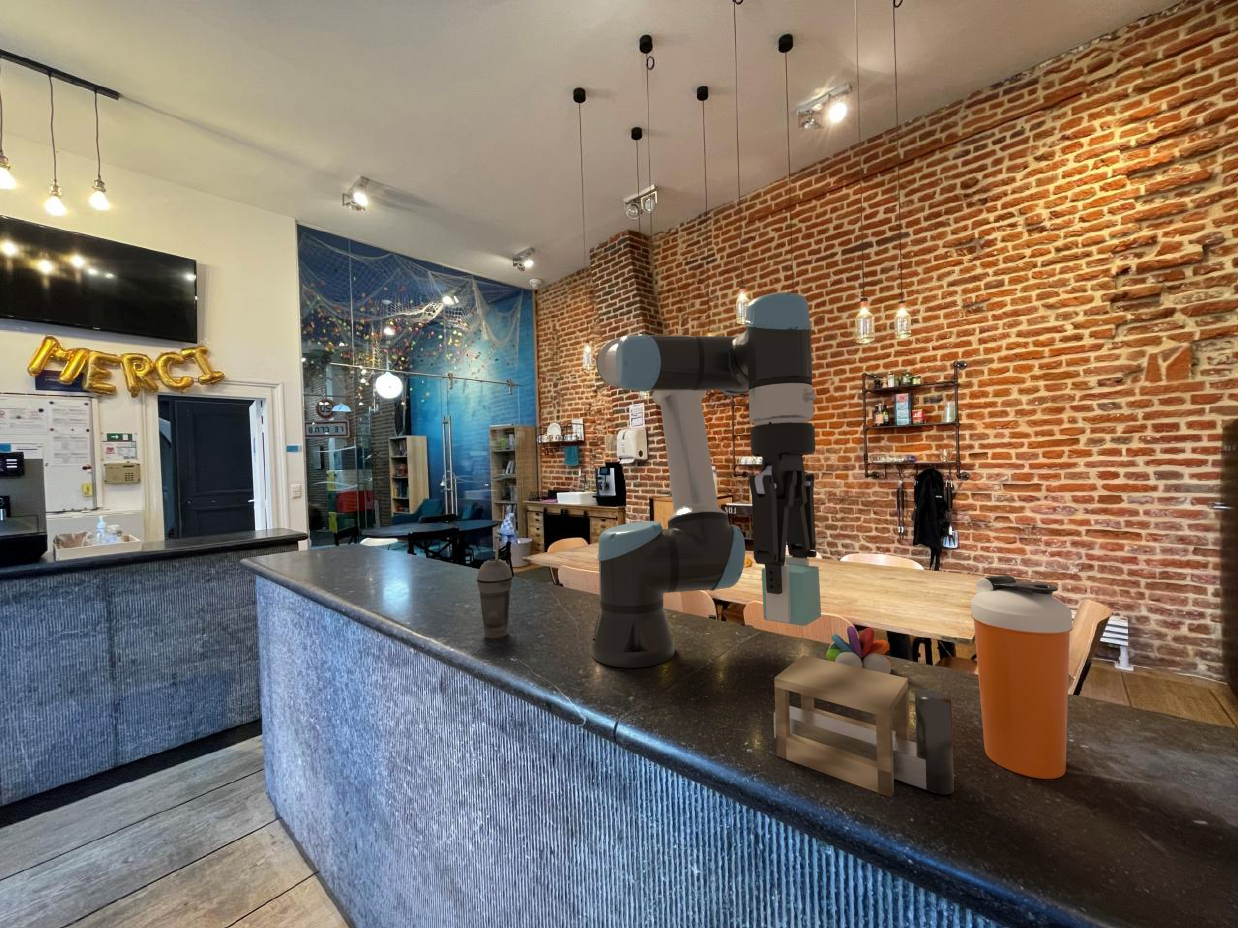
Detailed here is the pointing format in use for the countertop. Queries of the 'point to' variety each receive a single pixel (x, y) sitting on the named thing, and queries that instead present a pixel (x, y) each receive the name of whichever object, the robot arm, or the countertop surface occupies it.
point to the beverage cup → (495, 595)
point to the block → (801, 594)
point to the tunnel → (843, 718)
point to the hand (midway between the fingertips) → (789, 614)
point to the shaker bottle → (1023, 674)
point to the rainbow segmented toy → (860, 651)
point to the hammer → (894, 741)
